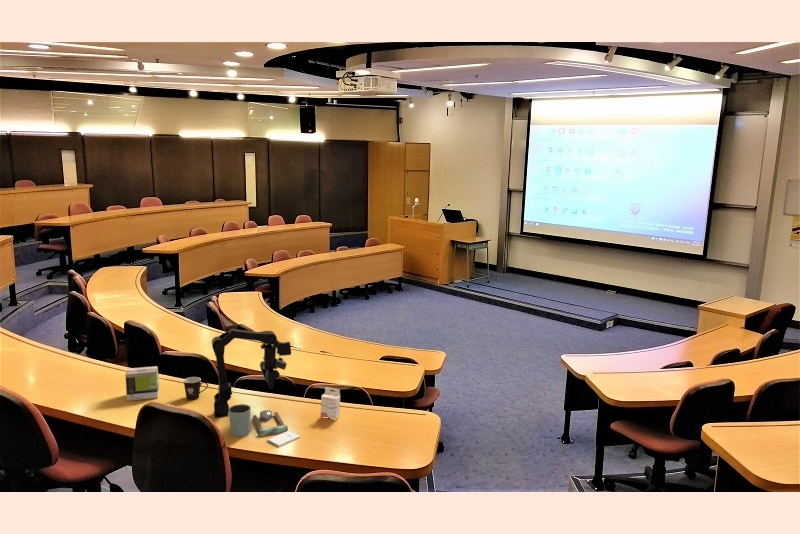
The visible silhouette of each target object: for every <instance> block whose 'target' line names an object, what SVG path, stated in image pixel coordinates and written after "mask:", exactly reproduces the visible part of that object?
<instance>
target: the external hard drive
mask: <svg viewBox="0 0 800 534" xmlns="http://www.w3.org/2000/svg"><path fill="white" fill-rule="evenodd" d="M300 438H301V435H299V434H297V433H295V432H293V431H291V430H288V431H287V432H283V433H278V434H277V435H275V436H273V437H271V438H268V439H267V440H266V441H267V442H268V443H270V444H271V445H274V446H275V447H278V448H280V447H282V446H285V445H288V444H289V442H290V443H291V442H294V441H296V440H298V439H300Z"/></svg>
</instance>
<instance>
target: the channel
mask: <svg viewBox="0 0 800 534" xmlns="http://www.w3.org/2000/svg"><path fill="white" fill-rule="evenodd" d="M273 415H275V416H274V417H275V419H276V421H277V423H278V424H279V425H278V426H272V427H265V428H263V427H262V425H261V423H260V421H259V420H260V419H259V418H258V416H257V414H254V415H252V419H253V422H254V421H255V422H254V424H255V426H256V427H257V428H256V429H257V431H258V434H259V437H262V436H269V435H276V434H282V433H284V432H287V431H289V430H288V428H289V426H288V425H287V424H285V423H284V421H283V419H282V417H281V416H280V414H279V412H278V411H275V412H274V413H273Z"/></svg>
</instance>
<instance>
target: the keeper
mask: <svg viewBox="0 0 800 534" xmlns="http://www.w3.org/2000/svg"><path fill="white" fill-rule="evenodd" d="M270 419H271V420H272V419H273V411H272V410H269V409H267V410H266V409H265V410H262V411H260V412H259V420H260V421H262V422H268V420H269V421H270Z"/></svg>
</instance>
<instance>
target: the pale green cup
mask: <svg viewBox="0 0 800 534" xmlns="http://www.w3.org/2000/svg"><path fill="white" fill-rule="evenodd" d="M251 408H252V407H251V406H250V405H249V404H244V403H243V404H235V405H231V406H229V410H228V411H229V413H228V417H229V418H228V419H229V428H230V435H231V436H232V437H236V438H241V437H245V436H246V437H247V436H248V435H249V434H250V433H251V416H252V415H251V414H252V413H251V412H252V409H251Z"/></svg>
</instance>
